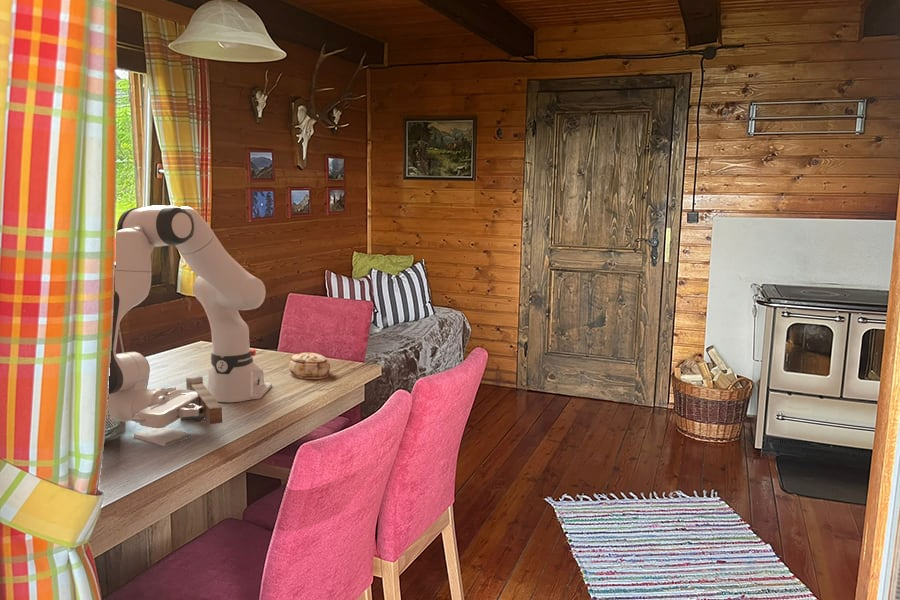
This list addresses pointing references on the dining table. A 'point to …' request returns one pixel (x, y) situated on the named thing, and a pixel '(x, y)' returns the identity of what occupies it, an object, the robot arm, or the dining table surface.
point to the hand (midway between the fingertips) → (201, 411)
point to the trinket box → (309, 366)
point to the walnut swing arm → (205, 399)
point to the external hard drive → (162, 435)
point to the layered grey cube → (194, 418)
